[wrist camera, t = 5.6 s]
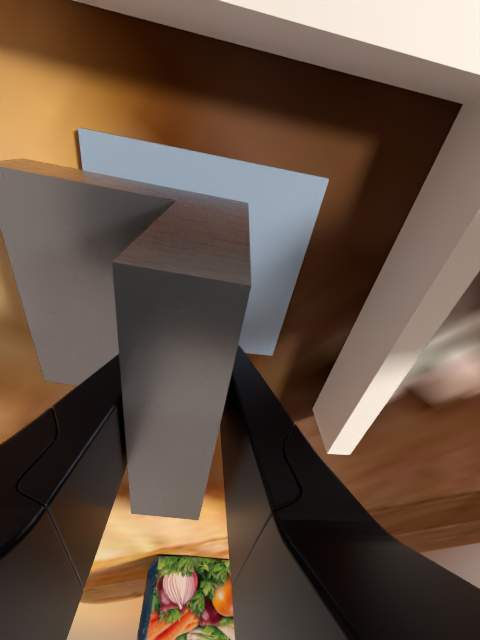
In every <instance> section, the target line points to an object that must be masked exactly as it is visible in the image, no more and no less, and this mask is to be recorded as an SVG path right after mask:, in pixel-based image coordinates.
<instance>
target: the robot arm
mask: <svg viewBox="0 0 480 640" xmlns="http://www.w3.org/2000/svg"><path fill="white" fill-rule="evenodd" d="M52 408H53V409H52ZM52 408H49V409H47V410H46V411H45V412H44V413H42V414H41V415H40V416H38V417H37V418H36V419H35V420H33V421H32V422H31V423H29V424H28V425H27V426H25V427H24V428H23V429H21V430H20V431H19V432H17V433H16V434H15V435H13V436H12V437H10V438H9V439H7V440H6V441H4V442H3V443H2V444H0V640H66V639H67V636H68V634H69V630H70V628H71V625H72V622H73V619H74V616H75V613H76V611H77V608H78V605H79V602H80V599H81V596H82V593H83V590H82V589H84V587H85V584H86V581H87V579H88V576H89V573H90V570H91V567H92V564H93V561H94V558H95V555H96V553H97V550H98V547H99V544H100V541H101V538H102V535H103V532H104V530H105V527H106V524H107V521H108V518H109V515H110V512H111V509H112V506H113V504H114V501H115V498H116V495H117V492H118V489H119V486H120V483H121V481H122V478H123V475H124V472H125V469H126V466H127V451H126V438H125V425H124V412H123V399H122V386H121V373H120V360H119V354H118V355H116V356H115V357H114V358H112V359H111V360H110V361H109V362H107V363H106V364H105V365H104V366H102V367H101V368H100V369H98V370H97V371H96V372H95V373H93V374H92V375H91V376H90V377H88V378H87V379H86V380H84V381H83V382H82V383H81V384H79V385H78V386H77V387H76V388H74V389H73V390H72V391H70V392H69V393H68V394H67V395H65V396H64V397H63V398H62V399H60V400H59V401H58V402H56V403H55V404H54V405H53V406H52ZM220 433H221V447H222V461H223V475H224V489H225V504H226V518H227V532H228V546H229V560H230V575H231V586H232V589H231V590H232V604H233V618H234V632H235V640H480V589H479V588H477V587H476V586H474V585H472V584H470V583H469V582H467V581H466V580H463V579H462V578H460V577H459V576H457V575H455V574H453V573H452V572H450V571H449V570H447V569H445V568H443V567H442V566H440V565H438V564H437V563H435V562H433V561H431V560H430V559H428V558H427V557H425V556H423V555H421V554H420V553H418V552H416V551H415V550H413V549H411V548H410V547H408V546H406V545H405V544H403V543H401V542H400V541H399V540H397V539H396V538H394V537H393V536H392V535H391V534H389V533H388V532H387V531H386V530H385V529H384V528H382V527H381V526H380V525H379V524H378V523H377V522H376V521H375V520H374V519H373V517H372V516H371V515H370V514H369V513H368V512H367V511H366V510H365V509H364V507H363V506H362V505H361V504H360V503H359V502H358V500H357V499H356V498H355V497H354V496H353V495H352V494H351V492H350V491H349V490H348V489H347V488H346V487H345V485H344V484H343V483H342V482H341V481H340V480H339V479H338V477H337V476H336V475H335V474H334V473H333V472H332V470H331V469H330V468H329V467H328V466H327V464H326V463H325V462H324V461H323V460H322V458H321V457H320V456H319V455H318V454H317V452H316V451H315V450H314V449H313V447H312V446H311V445H310V443H309V442H308V441H307V439H306V438H305V437H304V435H303V434H302V432H301V431H300V430H299V428H298V427H297V425H295V424H294V421H293V420H292V419H291V417H290V416H289V414H288V413H287V411H286V410H285V409H284V407H283V406H282V404H281V403H280V402H279V400H278V399H277V397H276V396H275V395H274V393H273V392H272V390H271V389H270V388H269V386H268V385H267V383H266V382H265V381H264V379H263V378H262V376H261V375H260V373H259V372H258V371H257V369H256V368H255V366H254V365H253V364H252V362H251V361H250V359H249V358H248V357H247V355H246V354H245V352H244V351H243V350H242V348H241V347H240V346H239V345H238V348H237V352H236V356H235V361H234V365H233V370H232V374H231V379H230V383H229V387H228V392H227V396H226V401H225V405H224V410H223V414H222V418H221V423H220Z"/></svg>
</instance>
